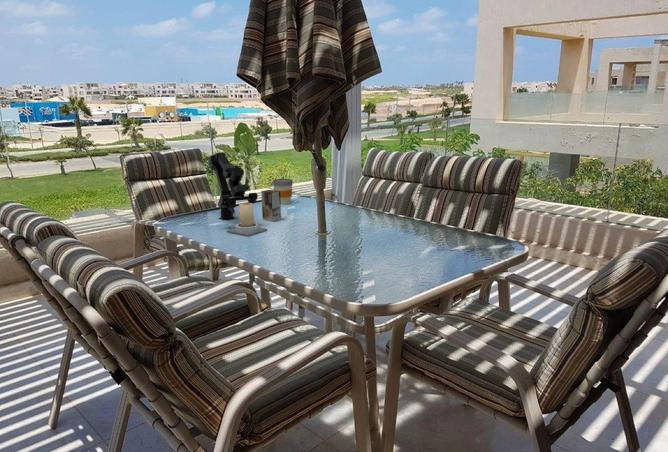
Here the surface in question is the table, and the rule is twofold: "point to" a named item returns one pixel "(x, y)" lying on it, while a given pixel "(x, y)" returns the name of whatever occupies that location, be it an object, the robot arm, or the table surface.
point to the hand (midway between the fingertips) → (243, 212)
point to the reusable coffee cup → (283, 189)
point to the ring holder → (246, 230)
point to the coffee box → (271, 205)
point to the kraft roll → (246, 214)
